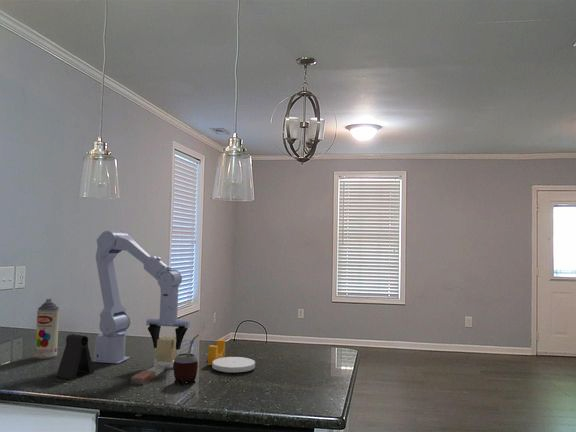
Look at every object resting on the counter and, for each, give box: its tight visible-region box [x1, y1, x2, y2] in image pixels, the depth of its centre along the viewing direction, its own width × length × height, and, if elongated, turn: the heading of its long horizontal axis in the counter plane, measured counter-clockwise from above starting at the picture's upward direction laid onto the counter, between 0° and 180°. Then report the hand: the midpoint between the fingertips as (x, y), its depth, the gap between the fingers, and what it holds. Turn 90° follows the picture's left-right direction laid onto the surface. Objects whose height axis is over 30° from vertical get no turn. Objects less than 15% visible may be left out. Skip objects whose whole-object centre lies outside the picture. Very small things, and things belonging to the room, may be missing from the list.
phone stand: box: [55, 333, 95, 381], centre depth 151 cm, size 9×6×12 cm, turn 156°
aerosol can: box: [34, 298, 60, 360], centre depth 171 cm, size 7×7×20 cm
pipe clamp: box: [207, 338, 226, 366], centre depth 172 cm, size 12×4×6 cm, turn 173°
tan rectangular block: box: [155, 336, 178, 362], centre depth 164 cm, size 5×5×7 cm
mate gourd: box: [172, 334, 199, 386], centre depth 146 cm, size 8×8×15 cm
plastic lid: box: [211, 356, 256, 373], centre depth 163 cm, size 14×14×2 cm
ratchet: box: [130, 357, 174, 385], centre depth 155 cm, size 8×25×5 cm, turn 171°
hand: (167, 348), depth 164 cm, fingers open, 7 cm apart
